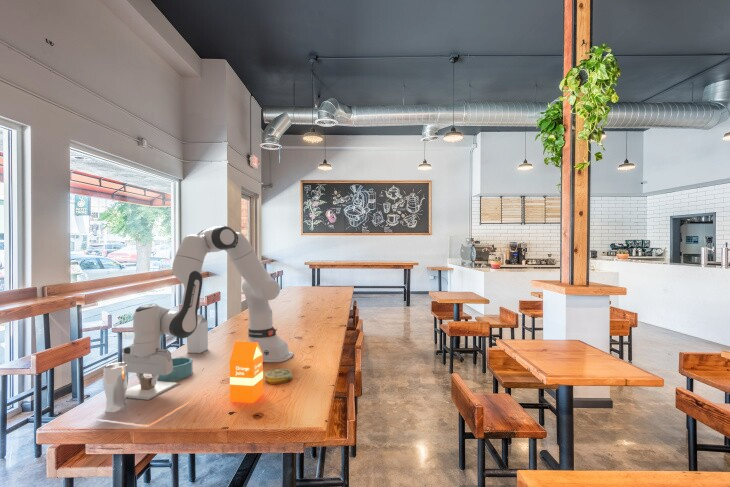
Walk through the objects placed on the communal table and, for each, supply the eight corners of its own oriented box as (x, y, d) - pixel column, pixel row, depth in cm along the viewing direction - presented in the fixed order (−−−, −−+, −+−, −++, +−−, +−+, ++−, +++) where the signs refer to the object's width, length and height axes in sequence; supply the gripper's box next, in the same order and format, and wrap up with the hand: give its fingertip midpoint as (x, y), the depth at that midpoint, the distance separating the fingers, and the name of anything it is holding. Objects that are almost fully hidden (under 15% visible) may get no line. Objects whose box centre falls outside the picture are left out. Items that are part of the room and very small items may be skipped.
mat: (181, 385, 143) (181, 383, 143) (148, 402, 128) (148, 401, 128) (147, 382, 147) (147, 380, 147) (111, 398, 132) (111, 397, 132)
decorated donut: (297, 379, 148) (297, 370, 148) (274, 387, 140) (274, 378, 140) (282, 373, 155) (282, 365, 155) (259, 381, 147) (259, 371, 147)
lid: (177, 384, 143) (177, 372, 143) (148, 399, 129) (147, 386, 129) (147, 382, 146) (147, 370, 146) (116, 396, 132) (116, 383, 132)
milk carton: (199, 353, 186) (198, 316, 186) (187, 352, 188) (186, 315, 188) (208, 349, 193) (207, 313, 193) (196, 349, 195) (195, 313, 195)
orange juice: (253, 403, 126) (252, 345, 126) (229, 401, 128) (229, 344, 128) (263, 394, 134) (262, 339, 134) (241, 392, 135) (240, 338, 136)
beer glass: (111, 406, 126) (111, 362, 126) (132, 405, 126) (132, 361, 126) (98, 415, 119) (98, 369, 119) (121, 414, 119) (120, 368, 119)
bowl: (198, 372, 158) (198, 358, 158) (176, 383, 146) (176, 368, 146) (173, 370, 161) (173, 356, 161) (149, 380, 149) (149, 366, 149)
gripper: (176, 347, 138) (177, 383, 138) (132, 344, 143) (133, 379, 143) (163, 351, 132) (164, 390, 132) (118, 348, 137) (118, 385, 137)
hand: (147, 384), depth 138 cm, fingers closed on lid, 3 cm apart
